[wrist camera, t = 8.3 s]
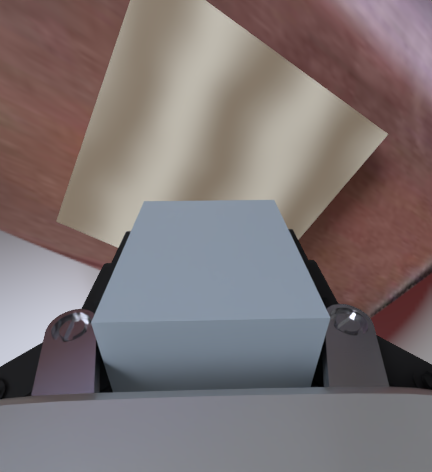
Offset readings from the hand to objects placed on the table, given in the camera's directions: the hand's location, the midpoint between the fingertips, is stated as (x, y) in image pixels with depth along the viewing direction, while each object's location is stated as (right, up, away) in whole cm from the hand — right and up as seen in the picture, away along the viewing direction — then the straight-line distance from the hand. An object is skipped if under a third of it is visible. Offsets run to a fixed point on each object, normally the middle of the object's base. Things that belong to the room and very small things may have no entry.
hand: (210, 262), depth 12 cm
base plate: (0, +7, +11) cm, 13 cm away
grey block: (0, 0, +1) cm, 1 cm away
